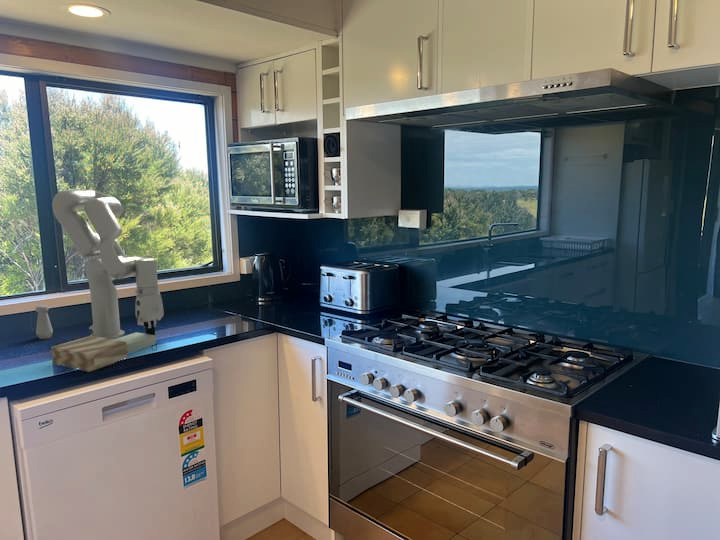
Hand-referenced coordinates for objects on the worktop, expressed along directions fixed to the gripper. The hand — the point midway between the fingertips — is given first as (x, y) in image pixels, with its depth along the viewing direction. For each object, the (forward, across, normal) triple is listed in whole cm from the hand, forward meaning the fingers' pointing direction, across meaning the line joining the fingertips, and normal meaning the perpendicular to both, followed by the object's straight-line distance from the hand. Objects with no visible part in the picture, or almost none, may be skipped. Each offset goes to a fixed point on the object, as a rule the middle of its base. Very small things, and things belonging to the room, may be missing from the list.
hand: (150, 337), depth 206 cm
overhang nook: (+2, -26, 0) cm, 26 cm away
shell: (+2, -9, 0) cm, 9 cm away
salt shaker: (+2, -14, +42) cm, 44 cm away
